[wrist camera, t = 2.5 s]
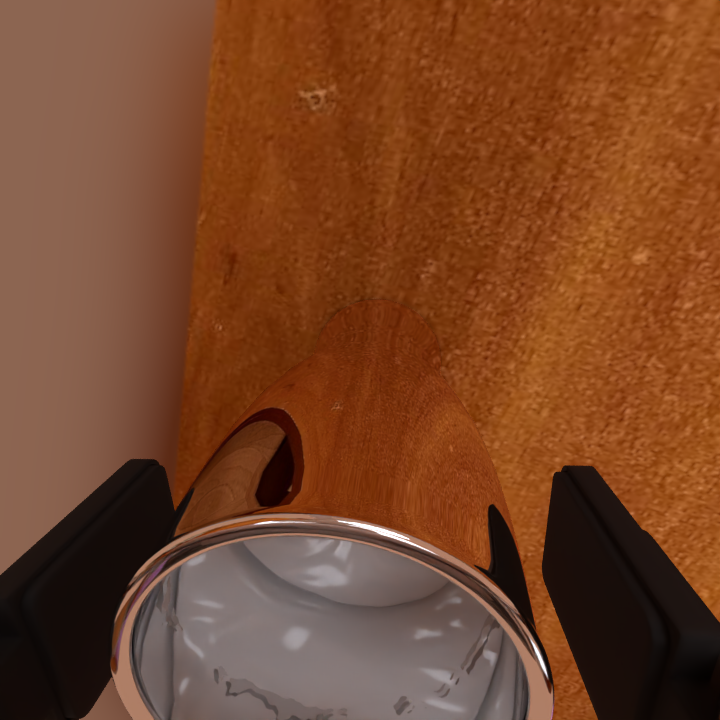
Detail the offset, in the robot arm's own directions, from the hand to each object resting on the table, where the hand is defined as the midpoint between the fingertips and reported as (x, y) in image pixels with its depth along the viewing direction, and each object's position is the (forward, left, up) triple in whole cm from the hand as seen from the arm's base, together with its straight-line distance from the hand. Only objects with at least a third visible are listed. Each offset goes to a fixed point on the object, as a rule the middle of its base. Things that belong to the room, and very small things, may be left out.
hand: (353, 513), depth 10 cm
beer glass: (0, 0, -11) cm, 11 cm away
